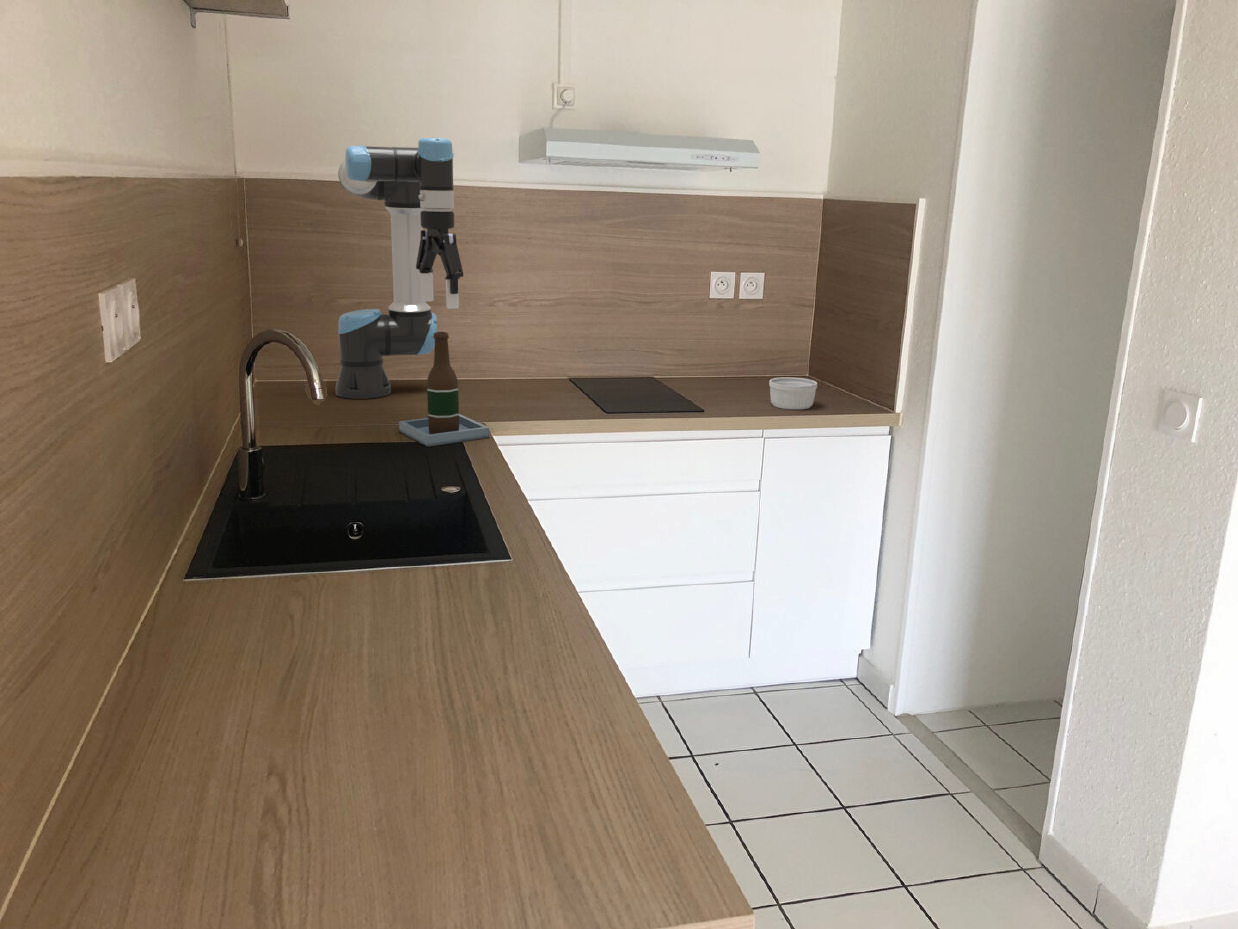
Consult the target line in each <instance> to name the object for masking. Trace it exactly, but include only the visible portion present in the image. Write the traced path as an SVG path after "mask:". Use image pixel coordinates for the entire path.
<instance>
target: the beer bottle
mask: <svg viewBox="0 0 1238 929" xmlns="http://www.w3.org/2000/svg"><path fill="white" fill-rule="evenodd" d="M433 338H434V339H435V346H434V348H433V350H434V352H433V353H434V355H433V366H432V367H431V369H430V371H429V372H428V376H427V383H426V387H427V388H426V392H427V396H426V397H427V418H428V425H429V433H430V434H437V433H445V432H452V431H459V414H460V410H459V409H460V408H459V405H460V403H459V384H458V377H457V375H456V372H455V371H454V369H453V368H452V366H451V362H450V354H449V353H450V352H449V340H448V339H449V338H450V336H449V333H448V332H447V331H437V332H435V333H434V336H433Z"/></svg>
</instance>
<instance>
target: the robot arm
mask: <svg viewBox="0 0 1238 929" xmlns="http://www.w3.org/2000/svg"><path fill="white" fill-rule="evenodd" d="M417 142H418V143H417V145H418V146H417V147H405V146H404V147H397V146H396V147H395V146H392V147H389V146H368V145H367V146H366V145H356V146H355V145H350V146H348V147H346V150H345V159H344V160H343V161H342V162H341V164H340V166H339V168H338V173H337V174H338V180H339V182H340V184H341V187H343V189H344V190H345V191H347V193H350V194H351V195H353V196H355V197H358V198H361V199H365V200H369V201H383V203H384V209H386V210H387V211H388V213H389V214H390V231H391V232H390V234H391V260H392V261H391V262H392V282H393V283H392V288H393V302H391V304H389V306H388V313H386V314H384V313H383V314H382V311H381V310H380V309H379V308H366V309H358V310H352V311H349V312H345V313H343V314H341V315H340V317H339V318H338V321H337V322H338V329H337V330H338V331H337V333H338V334H337V335H338V337H339V338H338V340H339V358H340V359H339V360H340V361H339V362H340V367H339V368H340V369H339V373H338V376H337V379H336V384H335V396H337V397H340V398H343V399H352V400H359V399H360V400H367V399H368V400H369V399H377V398H381V397H386V396H388V395H390V394H392V388H391V383H390V380H389V378H388V374H387V372H386V369H385V367H384V357H388V356H389V357H390V356H419V355H428V354H430V353H432V351H433V350H434V349H435V339H434V338H433V336H434V333H435V332H438V324H437V322H438V318H437V314H436V313H434V312H432V311H431V308H432V307H431V306H430V305H429V304H428V303H427V302H434V298H435V297H434V270H433V266H434V264H435V260H436V257H437V255H438V256H439V257H440V260H441V262H442V265H443V269H444V271H445V274H446V276H445V277H444V279H445V299H446V301H445V302H446V303H445V304H446V309H448V310H450V309H459V308H460V298H459V296H460V295H459V292H460V291H459V280H461V278H463V277H464V271H463V266H462V262H461V258H460V253H459V249H458V244H457V234H456V233H449V230H450V229H453V228H454V227H455V213H454V211H452V210H453V209H454V208H455V192H454V191H455V190H454V153H453V152H454V151H453V143H452V141H451V140H450V139H448V138H439V137H421V138H419V140H418V141H417Z"/></svg>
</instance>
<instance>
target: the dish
mask: <svg viewBox="0 0 1238 929" xmlns="http://www.w3.org/2000/svg"><path fill="white" fill-rule="evenodd" d="M398 425H399V426H398V427H399V433H402V434H403V435H405V436H407V437H409V438H410V439H413V440H414V441H416V442H417V443H420V444H421V445H423V446H425V447H427V448H428V447H434V446H435V447H436V446H440V445H448V444H454V443H455V444H456V443H462V442H468V441H477V440H482V439H489V438H490V427H489V426H487V425H485V424H482V423H480V422H478V421H477V420H474V419H472V418H469V417H467V416H465V415H463V414H460V413H459V431H452V432H445V433H437V434H430V433H429V425H428V417H425V418H417V419H410V420H402V421H401V420H400V421H398Z"/></svg>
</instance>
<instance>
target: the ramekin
mask: <svg viewBox="0 0 1238 929" xmlns="http://www.w3.org/2000/svg"><path fill="white" fill-rule="evenodd" d="M768 385H769V393H770V402H771V404H772V405H773V406H774V407H775V408H778V409H783V410H792V411H793V410H794V411H795V410H798V411H800V410H806V409H807V410H808V409H810V408H811V407H812V406H813V404H814V401H815V396H816V390H817V388H818V382H817V381H815V380H812V379H808V378H802V377H787V376H786V377H775V378H771V379H770V380H769V383H768Z"/></svg>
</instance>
